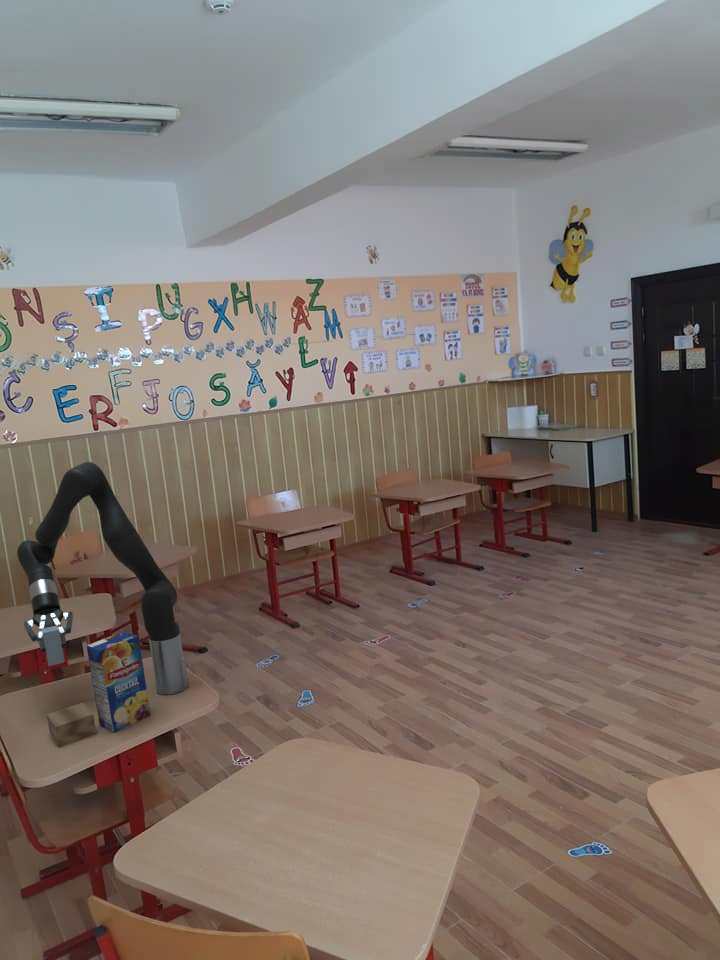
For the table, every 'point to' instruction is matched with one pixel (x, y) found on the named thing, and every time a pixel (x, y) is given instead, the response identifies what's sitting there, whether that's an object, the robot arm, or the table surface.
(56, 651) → the slate column
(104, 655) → the juice carton
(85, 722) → the walnut block
